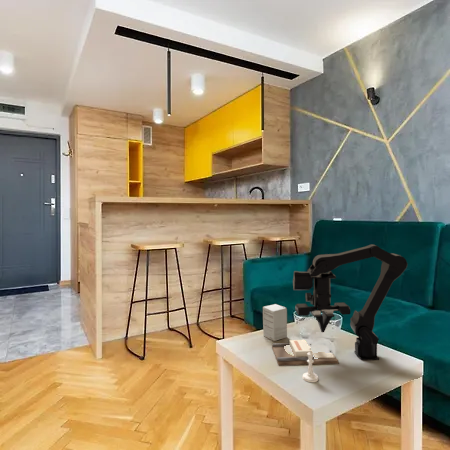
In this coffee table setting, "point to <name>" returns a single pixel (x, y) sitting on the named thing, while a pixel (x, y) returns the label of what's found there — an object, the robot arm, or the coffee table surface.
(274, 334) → the grey drawer cabinet
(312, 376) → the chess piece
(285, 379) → the coffee table surface
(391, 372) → the coffee table surface
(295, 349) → the cream flat box
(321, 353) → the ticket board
